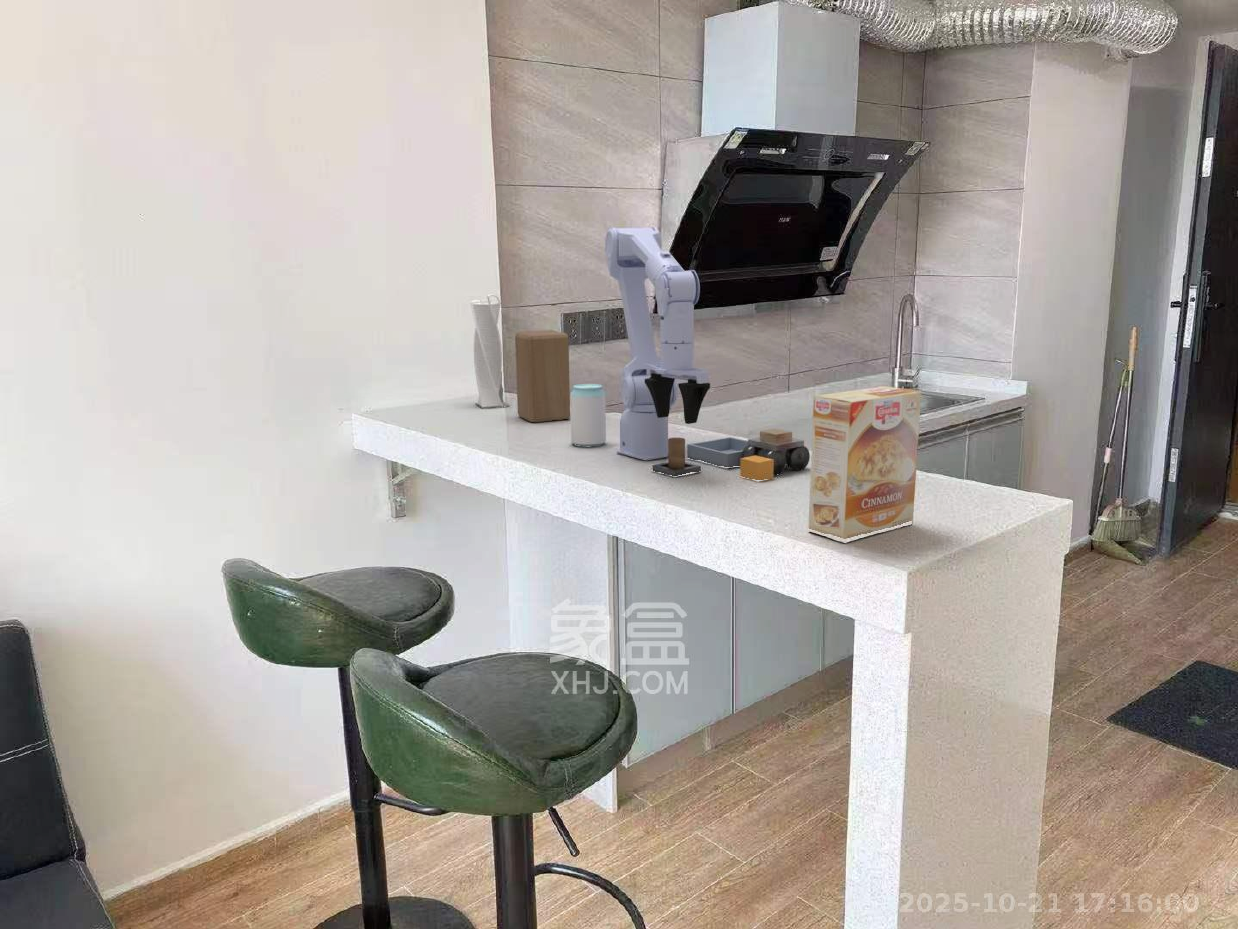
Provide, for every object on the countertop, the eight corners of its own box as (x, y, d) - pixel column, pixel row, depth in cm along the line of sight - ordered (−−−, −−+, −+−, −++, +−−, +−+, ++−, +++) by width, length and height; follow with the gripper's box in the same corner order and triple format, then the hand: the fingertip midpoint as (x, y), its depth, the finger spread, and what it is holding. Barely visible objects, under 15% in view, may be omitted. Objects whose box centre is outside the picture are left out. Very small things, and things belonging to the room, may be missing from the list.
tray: (687, 458, 183) (687, 444, 182) (730, 451, 189) (730, 436, 189) (727, 469, 174) (727, 453, 174) (770, 460, 181) (771, 445, 180)
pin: (664, 472, 173) (664, 438, 171) (677, 469, 175) (677, 436, 173) (675, 475, 170) (675, 441, 169) (688, 472, 172) (688, 439, 171)
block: (516, 416, 229) (513, 331, 225) (556, 413, 233) (554, 329, 229) (531, 423, 220) (528, 335, 216) (571, 420, 224) (570, 332, 220)
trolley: (740, 470, 173) (740, 432, 172) (781, 462, 180) (782, 425, 178) (768, 477, 168) (769, 438, 166) (809, 468, 174) (811, 430, 173)
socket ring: (652, 471, 173) (652, 465, 173) (678, 466, 177) (678, 460, 176) (674, 477, 168) (674, 471, 168) (700, 472, 172) (700, 466, 172)
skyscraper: (511, 407, 242) (507, 293, 235) (479, 410, 239) (474, 294, 232) (502, 402, 249) (498, 292, 243) (471, 405, 246) (466, 293, 240)
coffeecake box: (845, 544, 131) (851, 401, 126) (805, 532, 136) (810, 394, 132) (915, 525, 139) (924, 390, 135) (876, 514, 145) (882, 384, 140)
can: (611, 442, 199) (611, 384, 196) (596, 449, 193) (595, 388, 190) (581, 439, 202) (579, 382, 199) (565, 446, 195) (563, 387, 193)
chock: (740, 478, 168) (740, 458, 168) (755, 474, 171) (755, 455, 170) (758, 482, 165) (758, 462, 164) (773, 479, 167) (773, 459, 166)
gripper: (632, 340, 171) (633, 416, 174) (686, 347, 159) (686, 428, 162) (663, 338, 175) (663, 412, 178) (718, 344, 163) (717, 423, 166)
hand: (676, 420), depth 170 cm, fingers open, 7 cm apart
